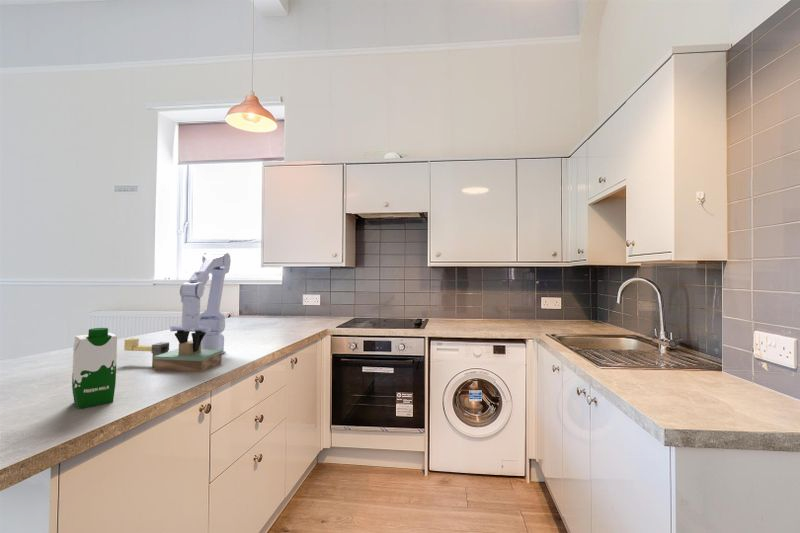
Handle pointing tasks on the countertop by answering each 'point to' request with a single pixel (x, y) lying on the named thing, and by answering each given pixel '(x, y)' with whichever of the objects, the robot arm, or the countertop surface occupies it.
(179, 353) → the lid
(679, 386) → the countertop surface
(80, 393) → the milk carton
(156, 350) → the wooden box
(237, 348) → the countertop surface
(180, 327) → the robot arm
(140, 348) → the wooden block
